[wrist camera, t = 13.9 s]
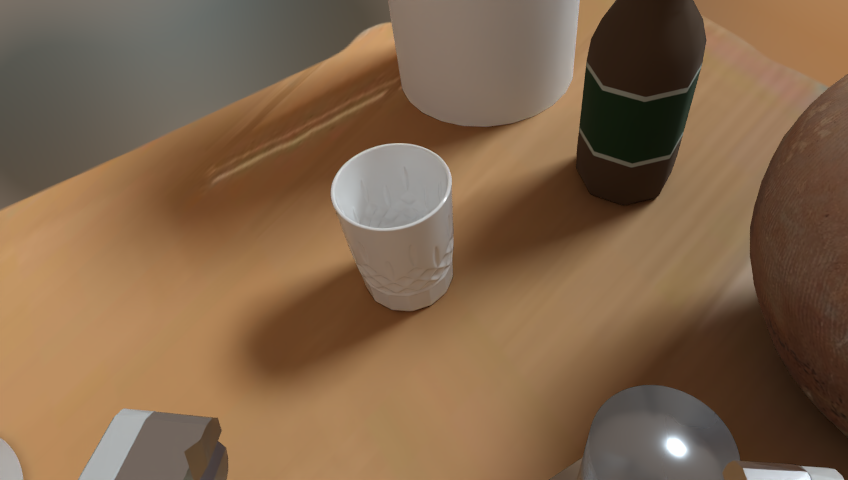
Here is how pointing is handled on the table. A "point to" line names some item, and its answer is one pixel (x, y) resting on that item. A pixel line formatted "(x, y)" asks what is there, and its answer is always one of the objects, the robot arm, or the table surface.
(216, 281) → the table surface
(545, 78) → the cylinder
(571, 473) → the stand block
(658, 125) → the beer bottle
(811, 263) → the pottery
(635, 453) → the grey cylindrical bottle
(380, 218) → the white cup
